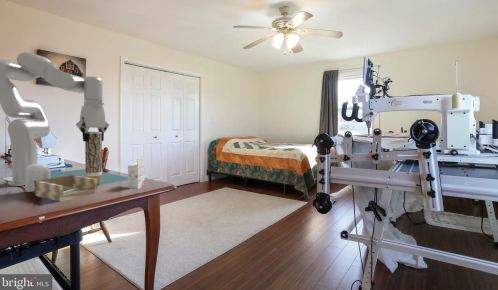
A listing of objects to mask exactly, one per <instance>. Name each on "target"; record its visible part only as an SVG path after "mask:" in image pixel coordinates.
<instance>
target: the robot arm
mask: <svg viewBox="0 0 498 290" xmlns="http://www.w3.org/2000/svg"><path fill="white" fill-rule="evenodd" d="M38 78H42V79H44V80H45V81H46V82H48V83H49V84H50V85H52V86H55V87H57V88H59V89H61V90H64V91H68V92H74V93H79V94H83V105H82V106H81V109H80V115H79V117H80V118H79V121H78V122H76V123H75V126H76V127H77V129H78V130H79V131H80V133H82V141H83V142H84V143H85V142H88V141H89V133H87V132H89V131H90V128H97V132H101V133H102V142H104V139H105V137H104V135H105V133H106V131H107V129H108V128H109V126H110V124H109V123H108V122H107V121H106V113H105V109H104V107H103V106H105V103H104V101H103V80H102V78H100V77H97V76H85V77H83V76H78V75H75V74H70V73H68V72H66V71H63V70H61V69H60V68H59V66H58V65H57V64H56V63H54V62H52V61H51V60H50V59H49V58H47V57H46V56H45V57H44V56H42V55H39V54H35V53H32V52H27V51H25V52H21V53H19V54H18V55H17V56H16V62H15V61H11V60H8V59H4V58H3V59H2V58H0V106H1V107H0V108H1V109H2V111H3V113H4V114H5V115H6V116H7V117H9V118H14V119H13V120H11V121H10V122H9V123H8V125H7V133H8V136H9V140H10V149H11V150H10V151H11V152H10V153H11V178H12V179H11V180H10V181H8V182H7V185H8V186H11V187H21V186H24V185H25V168H26V167H27V166H29V165H34V164H38V147H37V144H36V142H35V140H34V139H41V138H45V137H46V136H48V135H49V134H50V131H51V129H50V124H49V121H48V119H47V117H46V115H45V112H44V111H43V108H42V106H41V105H40V104H39V103H38V102H37V101H35V100H31V99H25V98H23V96H22V95H21V94H20V91H19V89H18V87H17V86H16V85H15V84H14V83H13V82H12V81H13V80H15V81H20V82H30V81H32V80H33V81H34V80H36V79H38ZM11 80H12V81H11ZM24 187H25V186H24Z"/></svg>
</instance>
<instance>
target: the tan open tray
mask: <svg viewBox="0 0 498 290" xmlns="http://www.w3.org/2000/svg"><path fill="white" fill-rule="evenodd" d="M98 185H99V184H97V179H94V178H88V177H86V176H82V175H81V176H80V175H77V174H76V175H74V174H71V175H65V176H59V177H58V176H57V177H51V178H50V179H44V180H38V181H34V191H33V192H34V196H35V197H38V198H39V197H40V198H42V199H43V198H44V199H48V200H51V201H56V202H64V201H68V200H69V201H70V200H73V199H77V198H81V197H85V196H90V195H93V194H97V193H99V192H98V191H99V190H98V188H99V187H98ZM74 188H80V190H81V189H88V190H83V191H79V192H74V193H70V194H65V195H63V191H67V190H70V189H74Z"/></svg>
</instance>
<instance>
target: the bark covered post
mask: <svg viewBox="0 0 498 290" xmlns="http://www.w3.org/2000/svg"><path fill="white" fill-rule="evenodd" d="M87 133H89V141H88V142H85V141H84V143H85V144H84V145H85V147H84V148H85V149H84V150H85V151H84V152H85V153H84V154H85V156H84V157H85V159H84V160H85V164H84V166H85V167H84V168H85V171H84V172H85V177H88V178H94V179H97V185H99V184H101V183H102V182H103V181H102V179H103V177H102V176H103V172H102V171H103V158H102V157H103V144H102V143H103V141H102V133H101V132H99V131H88V132H87Z"/></svg>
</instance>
